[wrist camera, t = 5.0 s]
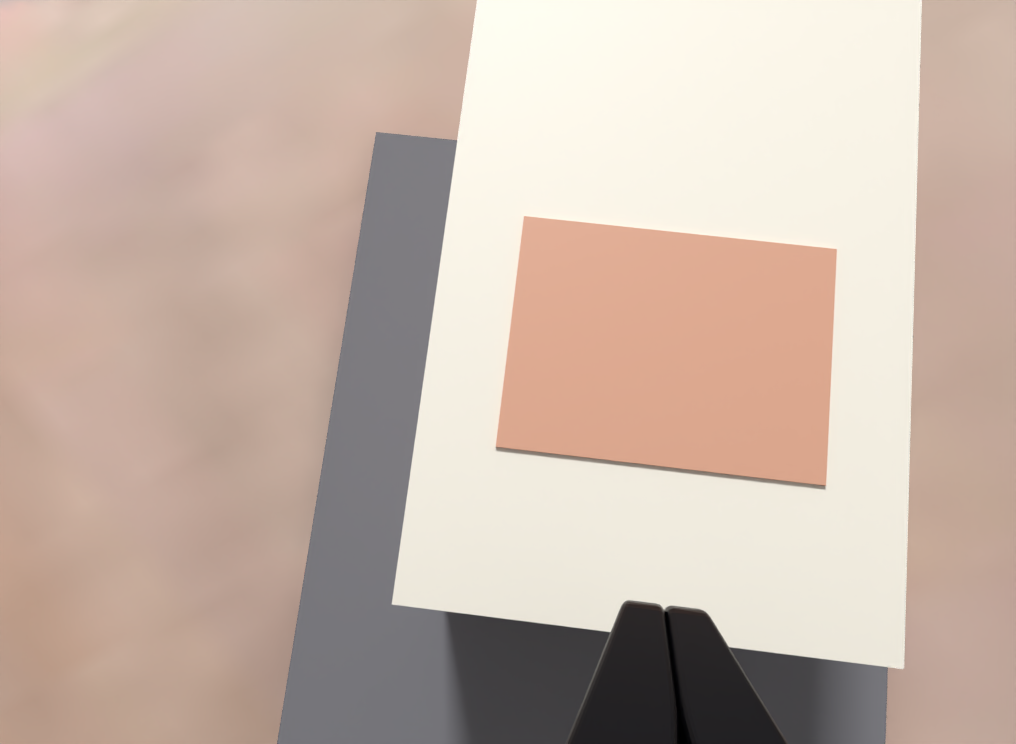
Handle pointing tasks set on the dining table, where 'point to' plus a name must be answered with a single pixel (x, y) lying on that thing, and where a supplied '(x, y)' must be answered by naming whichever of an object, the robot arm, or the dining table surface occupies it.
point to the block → (676, 323)
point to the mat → (378, 528)
